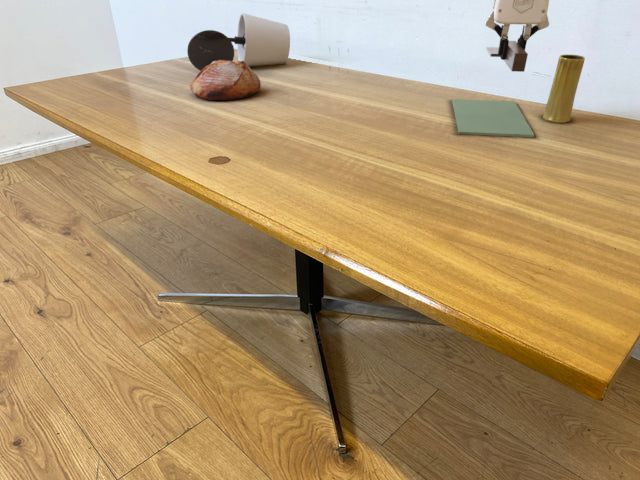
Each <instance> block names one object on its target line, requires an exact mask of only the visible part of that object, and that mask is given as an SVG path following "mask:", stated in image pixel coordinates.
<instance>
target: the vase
mask: <svg viewBox="0 0 640 480" xmlns="http://www.w3.org/2000/svg"><path fill="white" fill-rule="evenodd" d="M585 58H586V57H585V56H583V55H579V54H561V55H559V56H558V60H557V64H556V69H555V73H554V77H553V80H552V84H551V87H550V92H549V94H548V99H547V102H546V105H545V108H544V109H545V110H544V113H543V115H542V118H543V119H544V120H545V121H547V122H551V123H558V124H563V123H568V122H570V121H571V117H572V112H573V107H574V102H575V97H576V93H577V90H578V86H579V82H580V79H581V75H582V73H583V68H584V64H585Z"/></svg>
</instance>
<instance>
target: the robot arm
mask: <svg viewBox="0 0 640 480" xmlns="http://www.w3.org/2000/svg"><path fill="white" fill-rule="evenodd" d="M549 5H550V0H494V2H493V5H492V10H491V12H490V13H489V15H488V17H487V18H486V19H485V21H484V25H485V26H486V27H488V28H489V29H491V30H493V31H495V33H496V34H497V35H498V37H499V38H500V39H499V45H498V47H499V50H498V55H500V57H499V58H500V59H501V60H502V61H504V60H505V58H506V53H507V48H508V44H509V41H510V40H509V31H510V25H522V27H521V34H520V35H519V37H518V38H517V41H516V42H517V43H518V44H519V45H520V46H521V47H522V48H523V49H524V50H525V51H526V46H527V42H528V41H529V39H530V38H531V37H532V36H534V35H535V34H536V33H537V32H539V31H542V30H543V29H546V28H548V27H549V26H550V22H549V21H550V20H549V16H548V10H549ZM500 24H501V25H500Z"/></svg>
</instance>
